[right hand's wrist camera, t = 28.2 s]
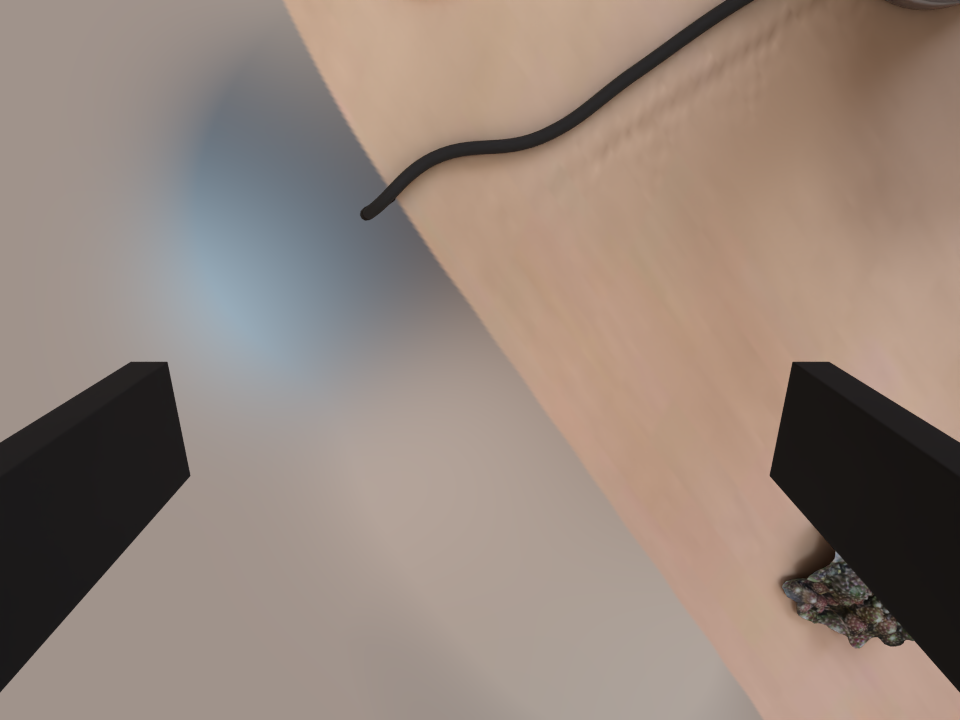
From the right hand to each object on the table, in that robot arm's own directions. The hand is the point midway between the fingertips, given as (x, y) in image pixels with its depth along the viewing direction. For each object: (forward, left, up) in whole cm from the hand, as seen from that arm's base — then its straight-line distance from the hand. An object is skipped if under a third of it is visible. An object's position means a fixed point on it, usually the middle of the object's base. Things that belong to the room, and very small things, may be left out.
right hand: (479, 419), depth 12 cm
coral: (+4, -51, -36) cm, 63 cm away
